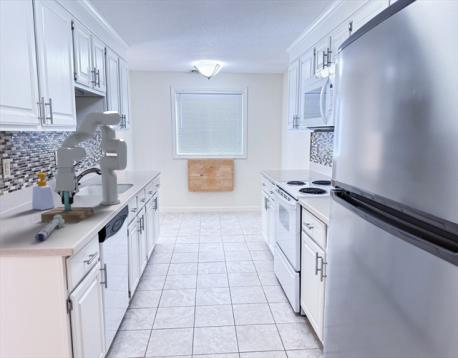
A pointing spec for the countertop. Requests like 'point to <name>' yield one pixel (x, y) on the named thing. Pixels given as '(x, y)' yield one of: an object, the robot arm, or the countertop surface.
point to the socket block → (68, 214)
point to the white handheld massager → (50, 228)
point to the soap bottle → (42, 194)
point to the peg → (67, 201)
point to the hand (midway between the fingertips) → (67, 203)
